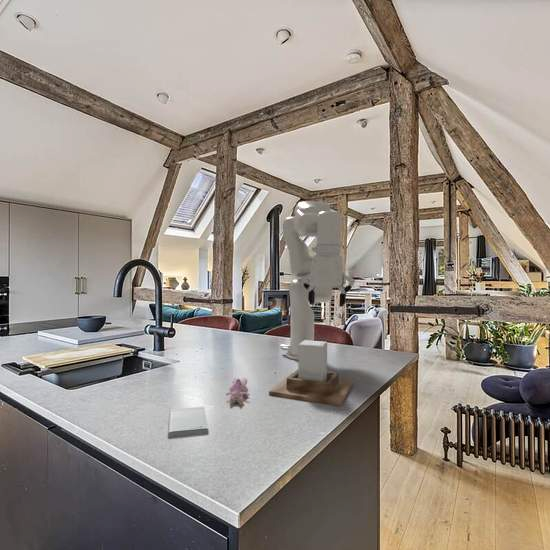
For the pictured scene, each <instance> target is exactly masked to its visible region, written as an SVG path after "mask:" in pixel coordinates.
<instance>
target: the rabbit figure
mask: <svg viewBox="0 0 550 550" xmlns="http://www.w3.org/2000/svg"><path fill="white" fill-rule="evenodd" d="M247 384H248V378H247V377H242V378H241V379H240V378H239V377H234V378H233V379H232V385H231V386H230V387H229V392H227V393H225V396H228V395H230V397H229V406H234V404H236V403H237V404H238V406H243V404H244V401H245V400H244V396H245V395H246V396H250V393H248V391H249V387H248V386H247Z"/></svg>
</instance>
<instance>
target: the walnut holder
mask: <svg viewBox="0 0 550 550" xmlns="http://www.w3.org/2000/svg"><path fill="white" fill-rule="evenodd" d="M339 376H340V374H339V372H336V371H328V370H327V382H319V381H311V380H304V379H298V369H297V370H295V371H294V372H291V373H290V374H288V376H286V377H284V379H282V380H281V381H280V382H279V383H277V384H276V385H275V386H273V387H272V388H271V389H270V390H269V391H268V395H269V396H274V397H280V398H287V399H295V400H300V401H305V402H306V401H307V402H313V403H319V404H325V403H326V404H325V405H331V404H332V406H337V405H338V406H339V407H341V406H342V404H343V403H342V402H344V401H345V399H346V397H347V396H348V393H349V392H350V391H351V389H350V388H352V386H353V385H354V380H350V379H343V378H340V377H339ZM346 395H347V396H346Z"/></svg>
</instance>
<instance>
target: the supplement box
mask: <svg viewBox="0 0 550 550" xmlns="http://www.w3.org/2000/svg"><path fill="white" fill-rule="evenodd" d="M298 348H299V354H298V360H297V361H298V362H297V364H298V365H297V366H298V369H297V370H298V379H304V380H311V381H319V382H327V371H328V341H323V340H322V341H321V340H314V341H310V340H304V341H303V342H301V343H300V344H298Z"/></svg>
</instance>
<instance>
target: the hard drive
mask: <svg viewBox="0 0 550 550" xmlns="http://www.w3.org/2000/svg"><path fill="white" fill-rule="evenodd" d="M168 415H169V416H168V433H167V434H168V436H167V437H168V438H170V437H171V438H172V437H179V436H191V435H193V436H194V435H200V434H201V435H202V433H203V434H210V433H209V425H208V424H209V423H208V419H207V414H206V409H205V407H204V406H196V407H184V408H172V409H169V414H168Z"/></svg>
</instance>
